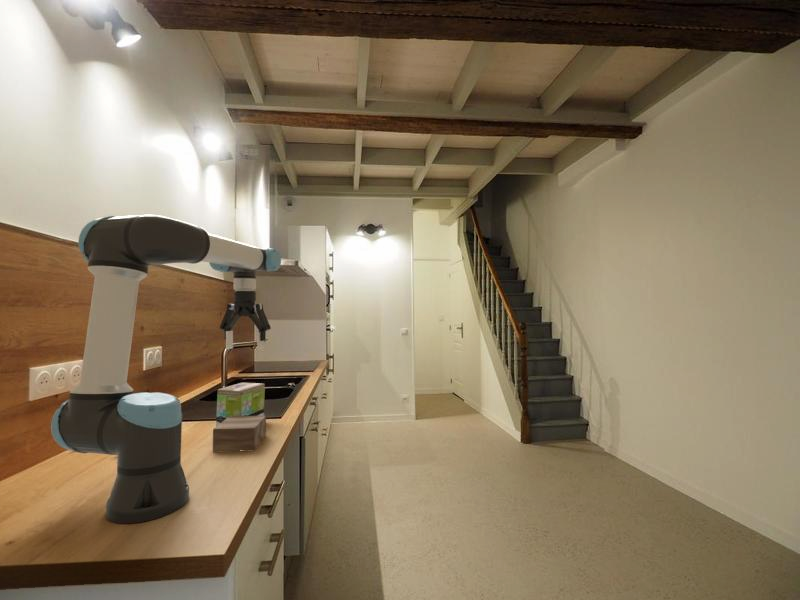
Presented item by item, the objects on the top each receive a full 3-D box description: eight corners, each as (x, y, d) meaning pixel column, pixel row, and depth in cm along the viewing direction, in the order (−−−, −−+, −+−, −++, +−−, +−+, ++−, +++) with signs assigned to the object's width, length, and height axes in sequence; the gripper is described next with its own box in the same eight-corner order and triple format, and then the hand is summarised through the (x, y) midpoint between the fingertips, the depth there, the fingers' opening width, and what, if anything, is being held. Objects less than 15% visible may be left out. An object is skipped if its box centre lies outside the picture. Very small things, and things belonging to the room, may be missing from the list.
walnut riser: (254, 451, 118) (254, 428, 119) (212, 452, 117) (213, 429, 118) (265, 436, 132) (265, 415, 133) (228, 437, 131) (228, 416, 131)
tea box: (241, 434, 134) (241, 390, 135) (215, 432, 136) (215, 389, 137) (264, 421, 149) (265, 382, 149) (241, 420, 151) (241, 381, 151)
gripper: (280, 290, 142) (280, 349, 142) (224, 291, 150) (224, 347, 150) (267, 289, 135) (267, 352, 135) (209, 290, 143) (209, 349, 143)
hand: (244, 349), depth 142 cm, fingers open, 13 cm apart
